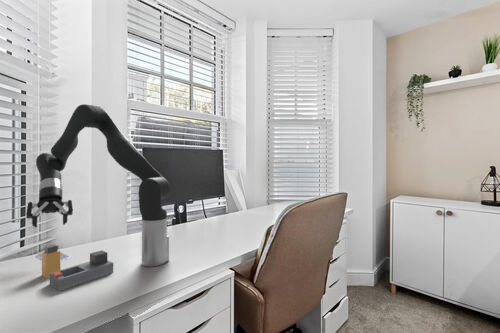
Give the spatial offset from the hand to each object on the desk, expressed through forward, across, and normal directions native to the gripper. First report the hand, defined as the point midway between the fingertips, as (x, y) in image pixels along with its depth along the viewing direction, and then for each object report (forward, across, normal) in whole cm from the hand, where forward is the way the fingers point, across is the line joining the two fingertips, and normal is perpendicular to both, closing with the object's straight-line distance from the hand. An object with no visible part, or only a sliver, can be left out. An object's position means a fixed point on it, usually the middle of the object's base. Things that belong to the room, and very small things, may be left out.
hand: (50, 224), depth 96 cm
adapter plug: (+19, 0, +2) cm, 19 cm away
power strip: (+26, +9, -5) cm, 28 cm away
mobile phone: (+5, +1, +18) cm, 19 cm away
